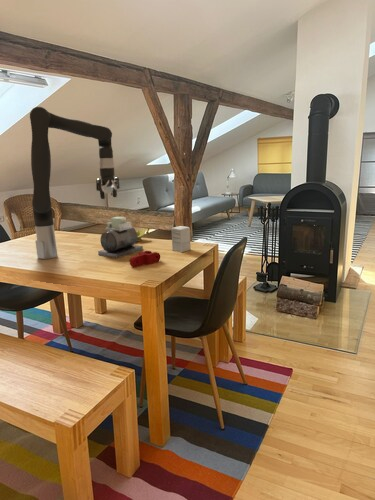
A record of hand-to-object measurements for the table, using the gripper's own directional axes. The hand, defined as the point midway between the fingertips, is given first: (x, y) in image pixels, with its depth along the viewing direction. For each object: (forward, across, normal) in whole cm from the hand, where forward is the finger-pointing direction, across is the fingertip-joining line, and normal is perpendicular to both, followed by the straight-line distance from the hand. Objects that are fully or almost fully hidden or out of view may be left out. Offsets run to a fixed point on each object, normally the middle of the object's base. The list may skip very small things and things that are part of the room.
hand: (108, 198), depth 207 cm
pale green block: (+15, 0, +6) cm, 16 cm away
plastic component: (+29, -21, -8) cm, 37 cm away
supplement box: (+29, -20, +33) cm, 48 cm away
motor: (+29, 0, +6) cm, 30 cm away
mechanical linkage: (+30, +10, +32) cm, 45 cm away
